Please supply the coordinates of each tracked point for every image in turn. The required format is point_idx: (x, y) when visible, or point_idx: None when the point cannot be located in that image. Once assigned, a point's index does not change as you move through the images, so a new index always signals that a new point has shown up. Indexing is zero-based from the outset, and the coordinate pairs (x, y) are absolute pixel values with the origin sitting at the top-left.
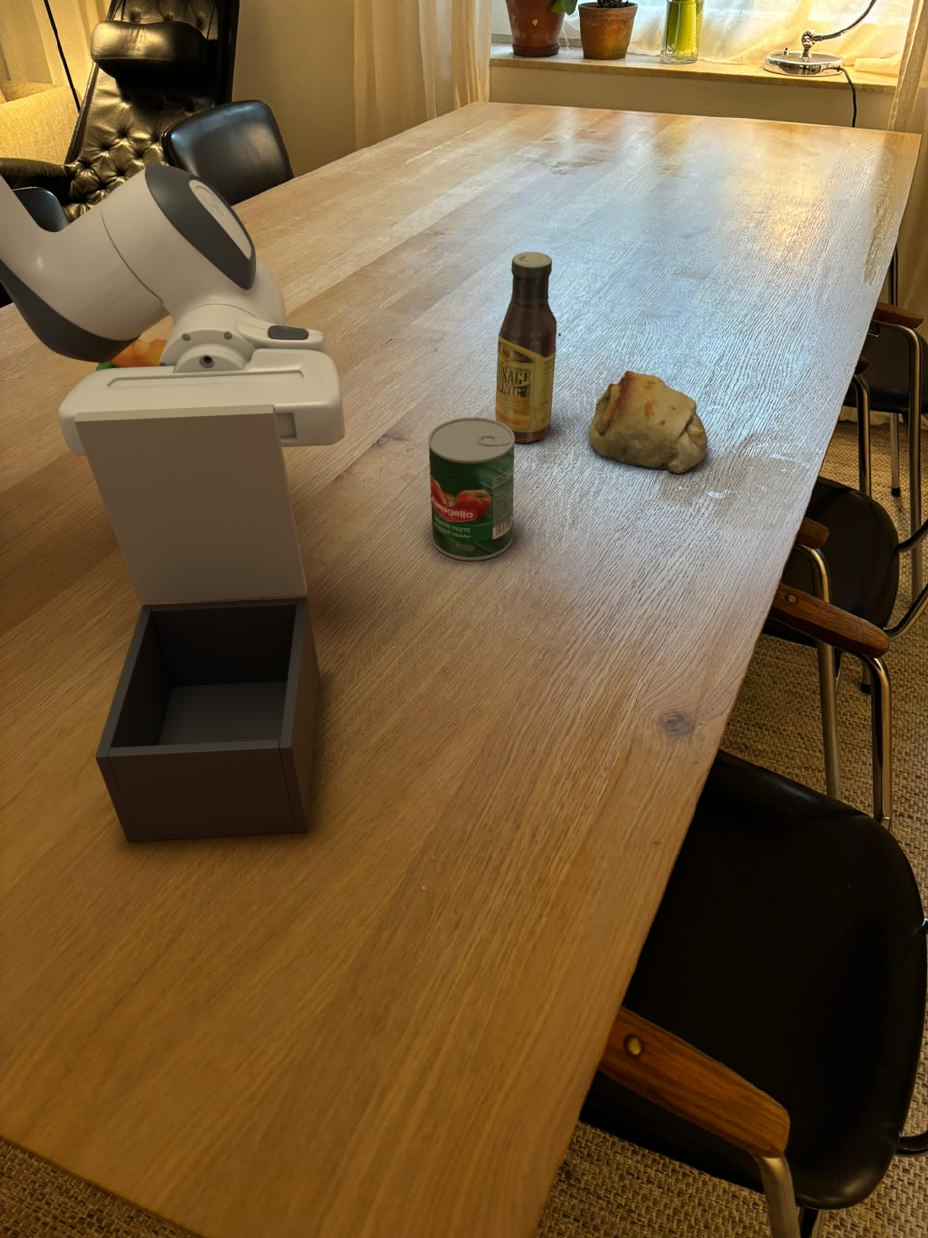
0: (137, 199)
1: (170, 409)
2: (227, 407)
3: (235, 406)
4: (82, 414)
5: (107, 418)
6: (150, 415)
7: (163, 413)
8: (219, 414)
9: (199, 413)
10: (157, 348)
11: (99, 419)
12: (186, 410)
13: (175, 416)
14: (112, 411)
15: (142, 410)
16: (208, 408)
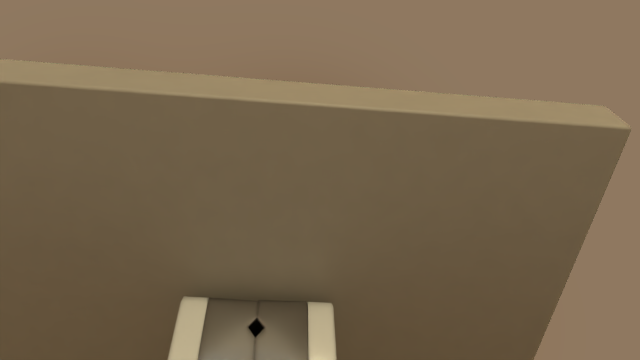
0: None
1: (286, 97)
2: (60, 81)
3: (26, 77)
4: (604, 121)
5: (499, 98)
6: (354, 91)
7: (309, 90)
8: (102, 69)
9: (175, 78)
10: None
11: (525, 102)
12: (224, 88)
13: (263, 80)
14: (502, 113)
15: (393, 108)
16: (137, 83)
